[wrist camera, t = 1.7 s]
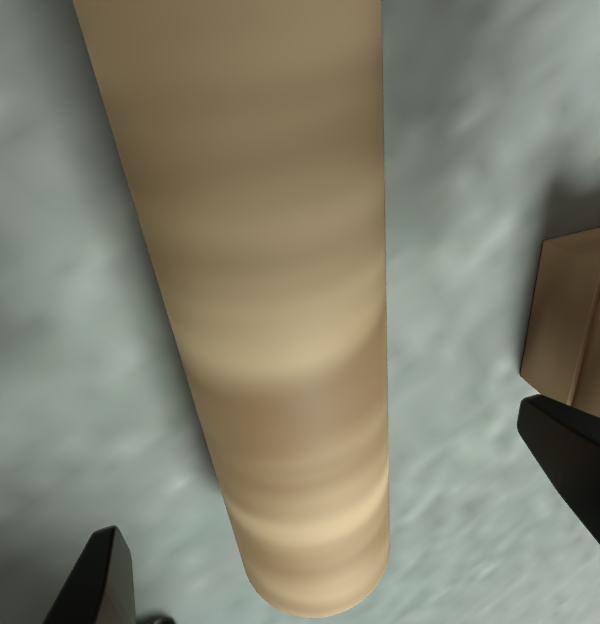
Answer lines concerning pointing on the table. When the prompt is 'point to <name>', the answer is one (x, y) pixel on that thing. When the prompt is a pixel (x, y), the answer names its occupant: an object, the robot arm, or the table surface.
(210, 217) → the rod
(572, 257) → the block
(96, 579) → the robot arm
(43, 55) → the table surface
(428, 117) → the table surface
